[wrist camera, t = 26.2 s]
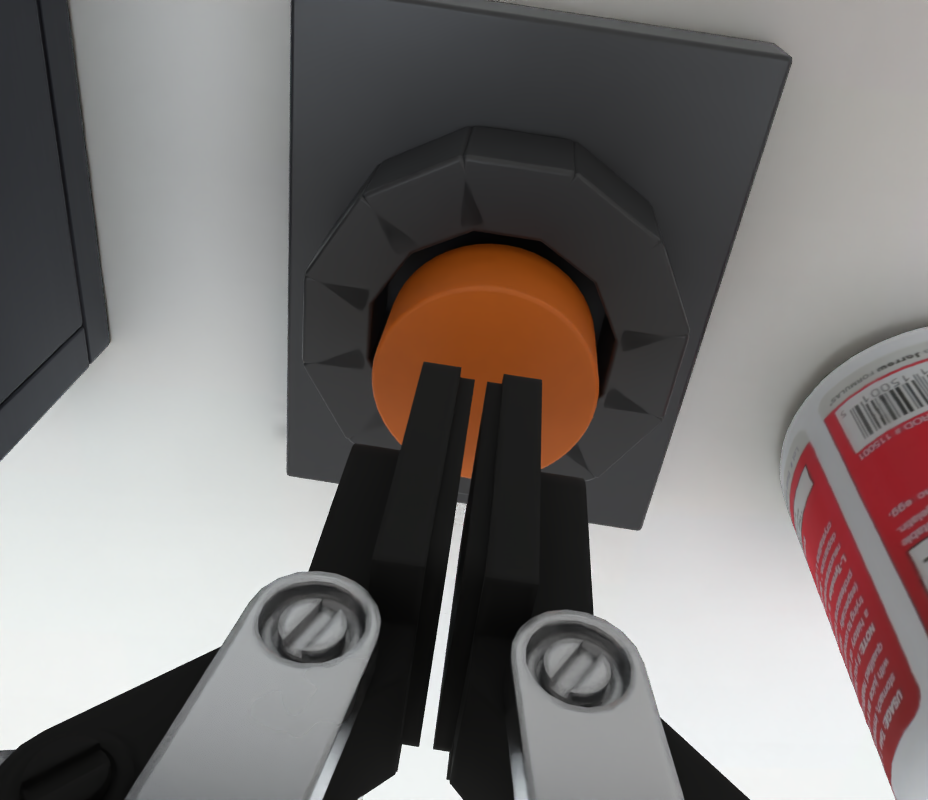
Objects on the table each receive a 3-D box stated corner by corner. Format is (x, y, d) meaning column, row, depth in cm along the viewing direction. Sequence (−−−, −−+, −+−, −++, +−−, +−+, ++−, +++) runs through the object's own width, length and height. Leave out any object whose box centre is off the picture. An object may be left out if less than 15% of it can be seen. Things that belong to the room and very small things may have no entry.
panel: (308, -28, 14) (254, -5, 11) (778, 43, 14) (827, 82, 11) (299, 446, 19) (261, 531, 17) (636, 498, 19) (648, 592, 17)
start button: (397, 226, 14) (378, 269, 12) (616, 259, 14) (622, 307, 12) (381, 407, 16) (363, 463, 14) (572, 437, 15) (573, 496, 14)
